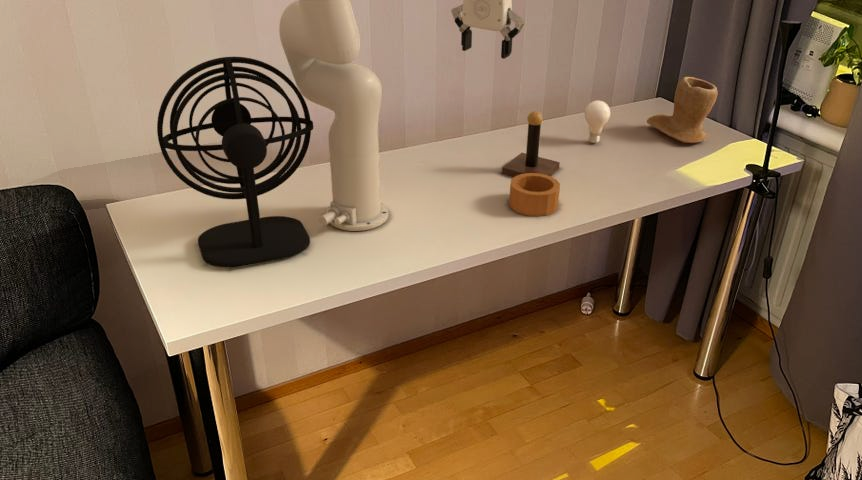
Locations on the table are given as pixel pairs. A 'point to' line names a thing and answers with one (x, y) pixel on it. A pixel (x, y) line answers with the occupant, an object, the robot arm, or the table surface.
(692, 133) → the brown boot
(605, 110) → the lightbulb
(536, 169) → the hook base
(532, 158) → the hook peg
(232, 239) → the desk fan
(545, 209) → the tape roll
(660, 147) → the table surface
